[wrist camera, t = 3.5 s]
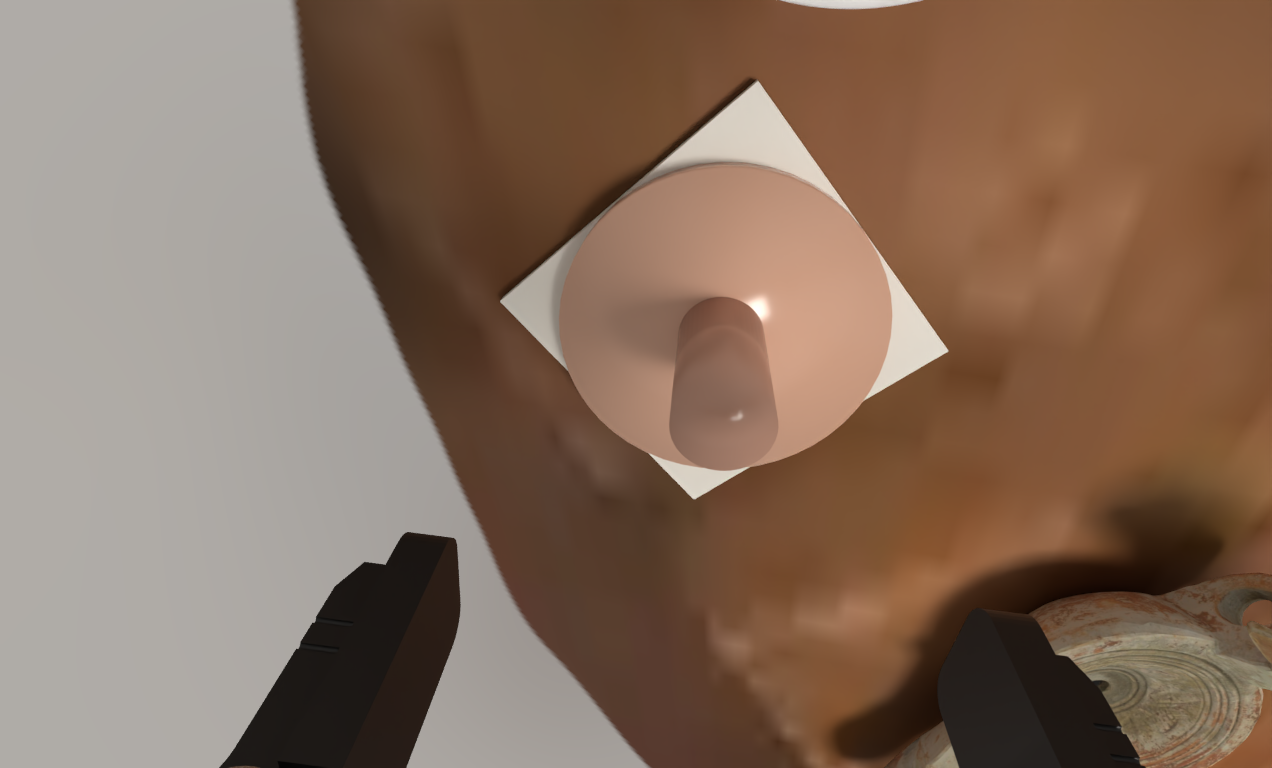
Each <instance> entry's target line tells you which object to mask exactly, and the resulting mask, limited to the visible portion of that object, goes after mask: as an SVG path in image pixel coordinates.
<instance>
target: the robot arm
mask: <svg viewBox="0 0 1272 768" xmlns="http://www.w3.org/2000/svg"><path fill="white" fill-rule="evenodd" d="M459 617H460V588H459V570H458V554H457V543H456V540H455V539H454V538H449V537H442V536H434V535H426V534H418V533H411V532H407V533H405V534H404V535H403V536H402V537H401V538H400V540H399V542H398V544H397V545H396V547H395V549H394V551H393V552H392V554H391V556H390V558H389V560H388V561H387V563H386V565H383V564H376V563H368V562H364V563H363V564H362V565H361V566H359V567H358V568H357V569H356V570H355V571H353V572H352V573H351V574H350V575H348V576H347V577H346V578H345V579H343V580H342V581H341V582H340V583H339V584H337V585H336V586H335V587H334V589H333V591H332V592H331V594H330V596H329V597H328V599H327V600H326V602H325V603H324V605H323V607H322V608H321V610H320V612H319V613H318V615H317V616H316V621H315V623H312V625H311V626H310V628H309V629H308V631H307V633H306V634H305V636H304V637H303V639H302V641H301V644H300V647H299V649H296V650H295V652H294V653H293V655H292V657H291V658H290V660H289V662H288V663H287V665H286V666H285V668H284V670H283V671H282V673H281V674H280V676H279V678H278V679H277V681H276V682H275V684H274V686H273V687H272V689H271V691H270V692H269V694H268V695H267V697H266V699H265V700H264V702H263V704H262V705H261V707H260V708H259V710H258V711H257V713H256V715H255V717H254V718H253V720H252V721H251V723H250V725H249V726H248V728H247V729H246V731H245V733H244V734H243V736H242V737H241V739H240V741H239V742H238V744H237V745H236V747H235V749H234V750H233V751H232V753H231V754H230V756H229V757H228V758H227V759H226V761H225V762H224V763H223V764H222V765H221V766H220V767H219V768H406V767H407V764H408V761H409V759H410V756H411V753H412V751H413V748H414V746H415V743H416V741H417V738H418V735H419V733H420V730H421V727H422V725H423V722H424V720H425V717H426V714H427V711H428V709H429V706H430V704H431V701H432V699H433V696H434V693H435V691H436V688H437V685H438V683H439V680H440V678H441V675H442V672H443V670H444V667H445V664H446V662H447V659H448V656H449V654H450V651H451V649H452V646H453V643H454V640H455V637H456V633H457V628H458V623H459ZM937 693H938V703H939V708H940V712H941V715H942V718H943V721H944V724H945V727H946V730H947V733H948V736H949V739H950V742H951V745H952V748H953V751H954V754H955V757H956V760H957V763H958V766H959V768H1146V767H1145V766H1142V765H1141V764H1140V762H1139V759H1140V757H1139V755H1138V753H1137V752H1136V750H1135V748H1134V747H1133V745H1132V743H1131V741H1130V740H1129V738H1128V736H1127V734H1123V733H1122V730H1121V728H1122V726H1121V724H1120V722H1119V721H1118V719H1117V717H1116V716H1115V714H1114V712H1113V710H1112V709H1111V707H1110V705H1109V703H1108V702H1107V700H1106V698H1105V697H1104V695H1103V693H1102V691H1101V690H1100V689H1099V688H1098V687H1097V686H1096V685H1095V684H1094V683H1093V681H1092V680H1091V679H1090V678H1089V677H1088V676H1087V675H1086V674H1085V673H1084V672H1083V671H1082V670H1081V669H1080V668H1079V667H1078V666H1077V665H1076V664H1075V663H1074V662H1073V661H1072V660H1071V659H1070V658H1069V657H1068V656H1062V655H1056V654H1055V652H1054V650H1053V648H1052V647H1051V645H1050V643H1049V641H1048V639H1047V637H1046V636H1045V634H1044V632H1043V630H1042V628H1041V627H1040V625H1039V623H1038V622H1037V621H1036V620H1035V619H1034V618H1033V617H1032V616H1030V615H1028V614H1020V613H1013V612H1005V611H997V610H990V609H982V608H976V609H974V610H972V611H971V612H970V614H969V615H968V617H967V619H966V621H965V623H964V625H963V627H962V629H961V631H960V633H959V634H958V636H957V638H956V640H955V642H954V644H953V646H952V648H951V650H950V652H949V654H948V656H947V658H946V660H945V662H944V664H943V666H942V668H941V670H940V673H939V678H938V688H937Z"/></svg>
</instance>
